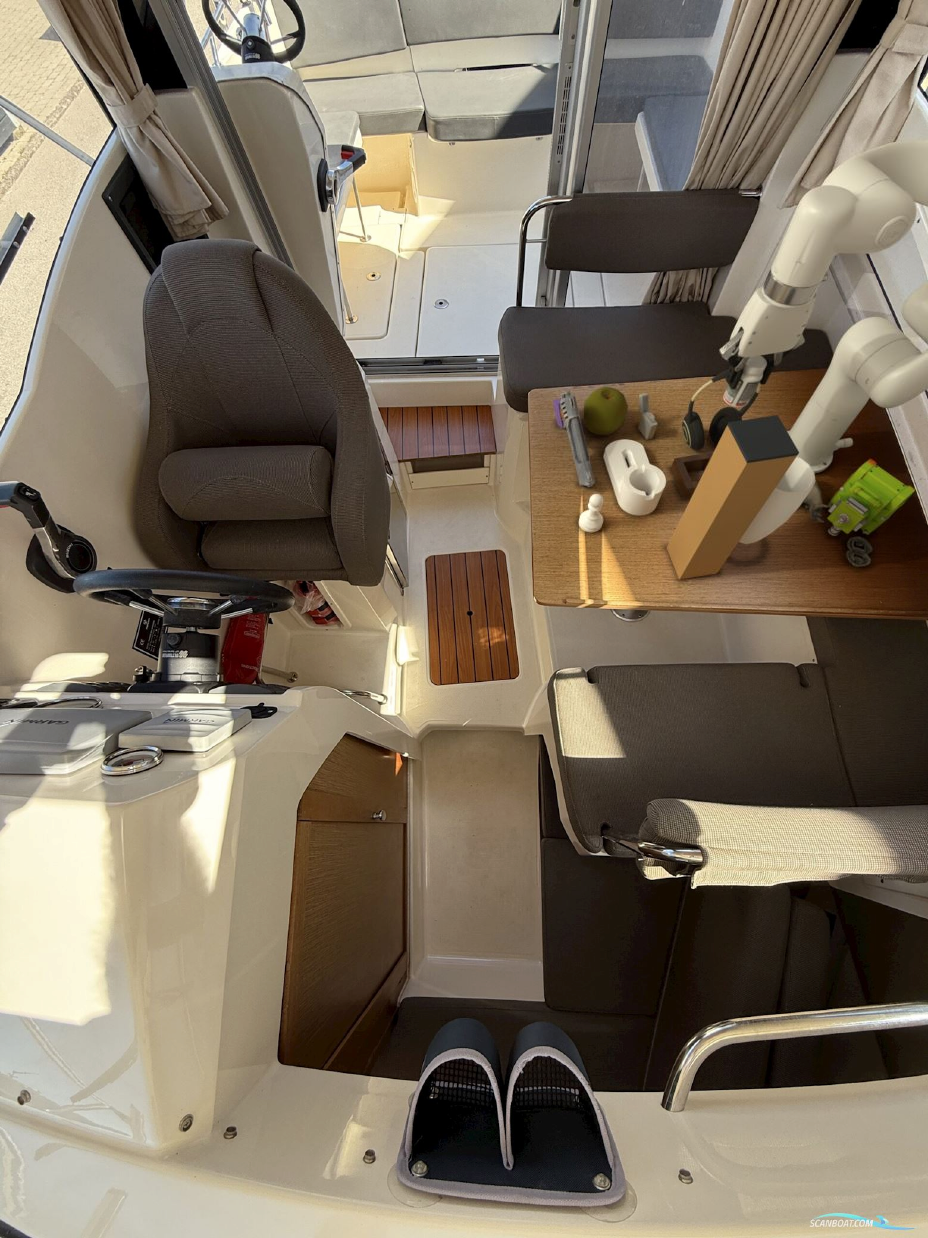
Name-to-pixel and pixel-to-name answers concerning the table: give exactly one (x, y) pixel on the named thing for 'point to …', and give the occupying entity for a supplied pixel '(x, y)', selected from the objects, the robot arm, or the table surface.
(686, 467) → the holder
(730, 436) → the black-topped square pillar
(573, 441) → the handgun
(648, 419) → the grey angled piece
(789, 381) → the table surface
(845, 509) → the lime green boxy piece
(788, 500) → the cup
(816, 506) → the rhino figurine
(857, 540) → the corroded twin loop
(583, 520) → the chess pawn
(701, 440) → the headphones
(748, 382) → the pill bottle
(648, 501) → the bracket
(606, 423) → the apple
